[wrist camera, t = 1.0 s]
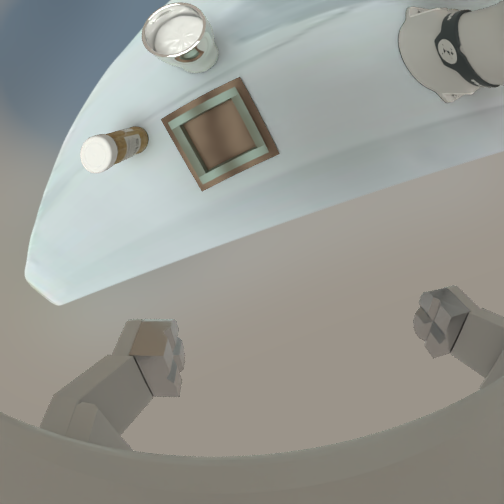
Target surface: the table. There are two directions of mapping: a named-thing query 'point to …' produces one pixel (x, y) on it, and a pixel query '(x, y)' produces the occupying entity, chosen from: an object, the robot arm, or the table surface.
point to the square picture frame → (220, 134)
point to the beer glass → (181, 37)
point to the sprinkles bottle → (112, 148)
